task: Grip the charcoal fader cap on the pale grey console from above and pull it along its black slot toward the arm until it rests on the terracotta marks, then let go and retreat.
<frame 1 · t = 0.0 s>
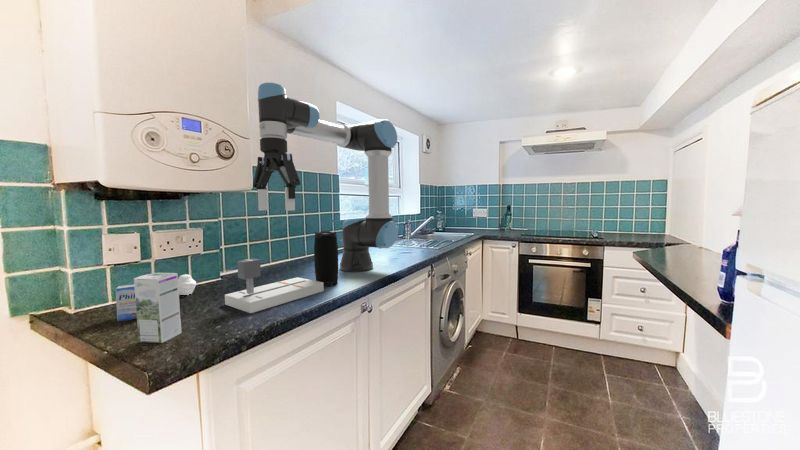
hand: (276, 210, 94), 28 cm above the countertop, tool pointing down, fingers open, 13 cm apart
portable speaker: (327, 284, 116), on the countertop
fader console: (277, 297, 100), on the countertop
medicine box: (138, 317, 84), on the countertop
fader tab: (249, 276, 92), point 9 cm above the countertop, slide at 9.0 cm
syrup box: (160, 338, 70), on the countertop
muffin: (185, 295, 104), on the countertop
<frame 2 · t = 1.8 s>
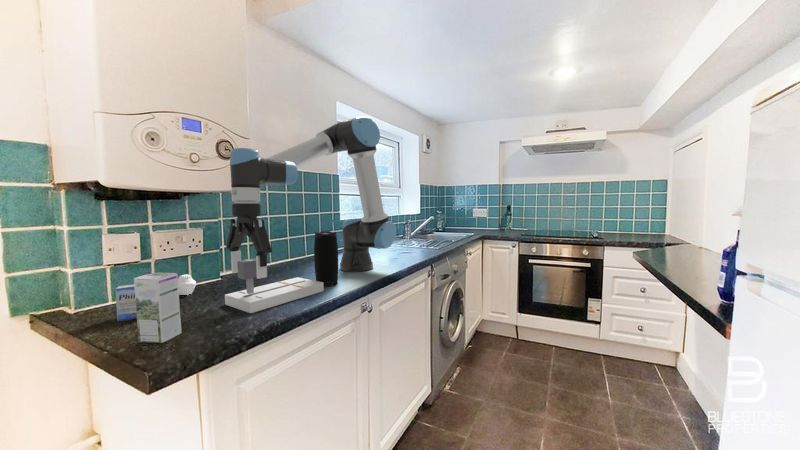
hand: (248, 274, 92), 9 cm above the countertop, tool pointing down, fingers open, 13 cm apart
nothing on the countertop moved.
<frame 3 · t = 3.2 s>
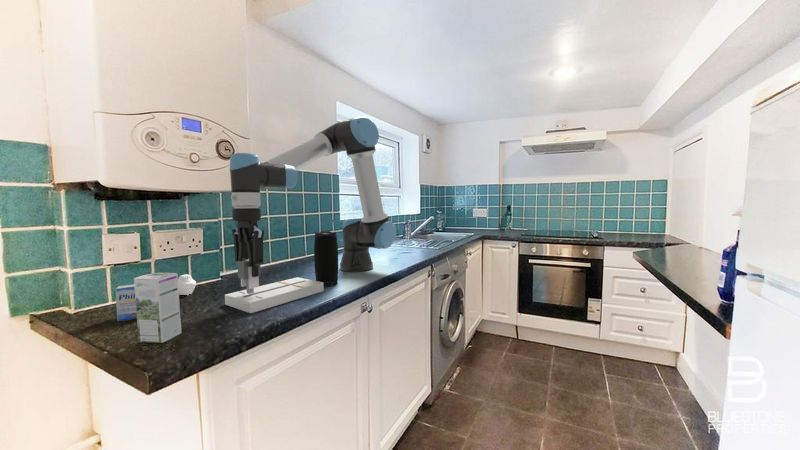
hand: (250, 286, 92), 6 cm above the countertop, tool pointing down, fingers closed on fader tab, 3 cm apart
fader tab: (249, 276, 92), point 9 cm above the countertop, slide at 9.0 cm, touching gripper
everything else where it was.
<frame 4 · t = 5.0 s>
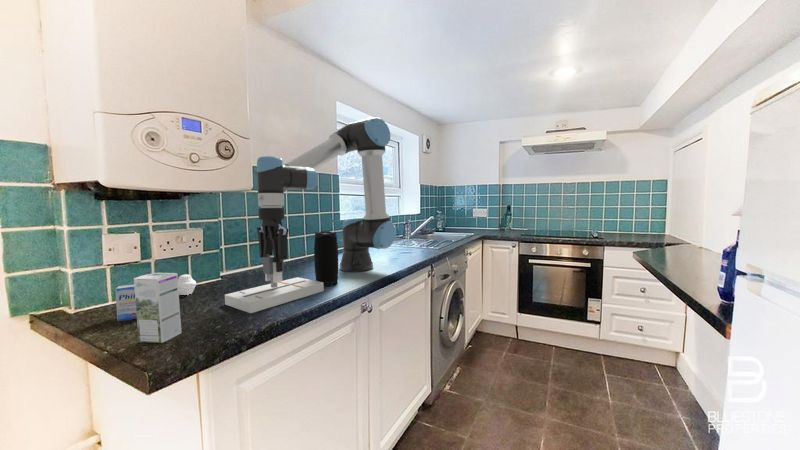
hand: (273, 280, 99), 6 cm above the countertop, tool pointing down, fingers closed on fader tab, 3 cm apart
fader tab: (273, 271, 98), point 9 cm above the countertop, slide at 1.1 cm, touching gripper
everything else where it was.
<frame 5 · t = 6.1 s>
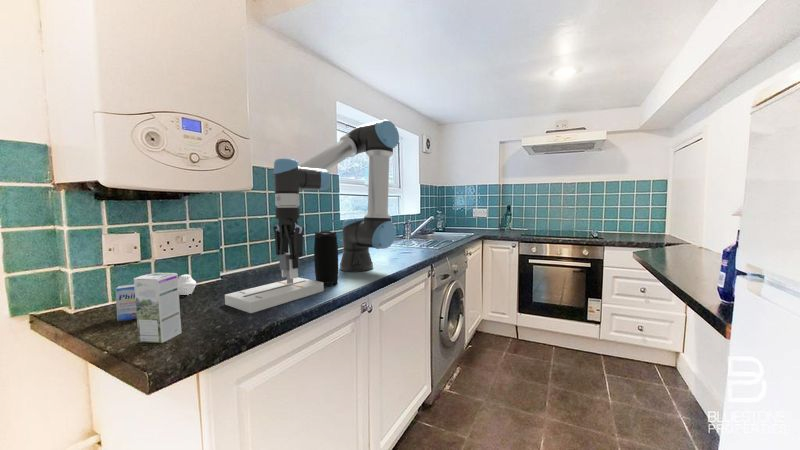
hand: (289, 277, 103), 6 cm above the countertop, tool pointing down, fingers closed on fader tab, 3 cm apart
fader tab: (289, 268, 103), point 9 cm above the countertop, slide at -4.8 cm, touching gripper
everything else where it was.
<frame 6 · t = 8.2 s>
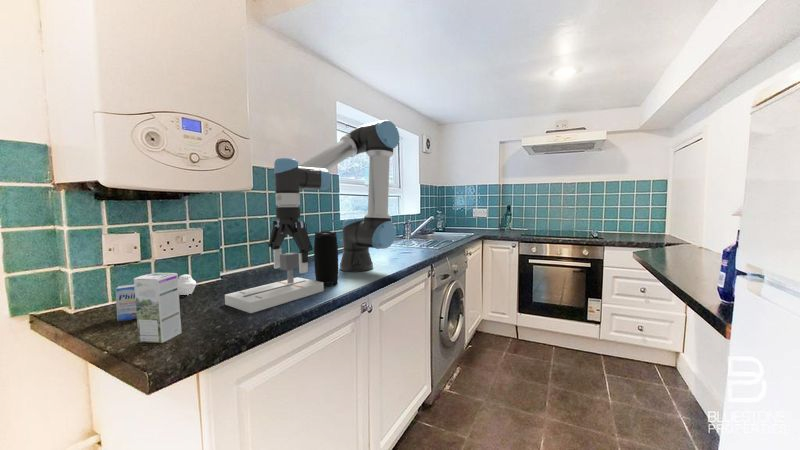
hand: (290, 270, 104), 8 cm above the countertop, tool pointing down, fingers open, 13 cm apart
fader tab: (290, 268, 103), point 9 cm above the countertop, slide at -5.0 cm
everything else where it was.
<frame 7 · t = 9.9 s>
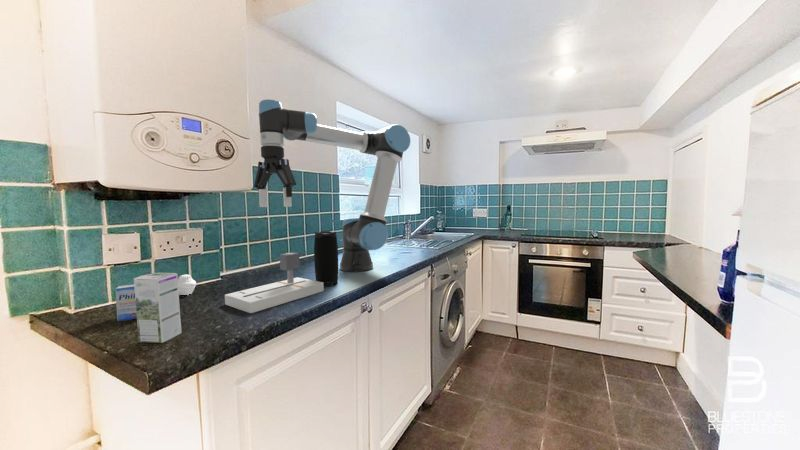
hand: (275, 207, 111), 29 cm above the countertop, tool pointing down, fingers open, 13 cm apart
nothing on the countertop moved.
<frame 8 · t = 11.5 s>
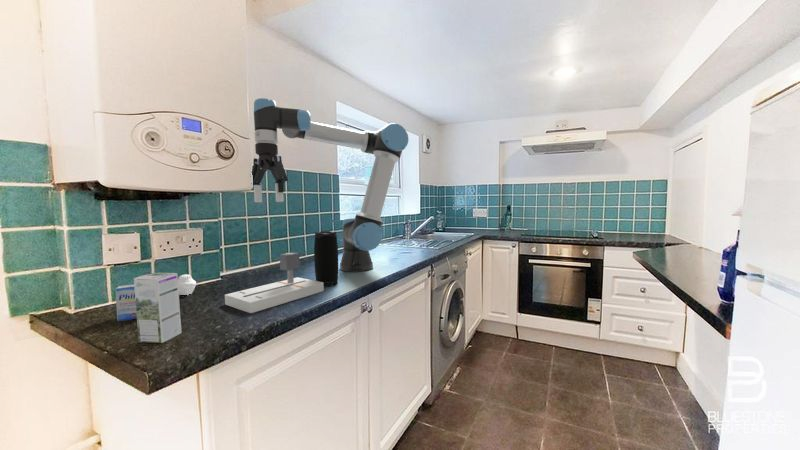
hand: (268, 202, 115), 31 cm above the countertop, tool pointing down, fingers open, 13 cm apart
nothing on the countertop moved.
at the end: fader tab slide at -5.0 cm; the gripper is holding nothing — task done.
